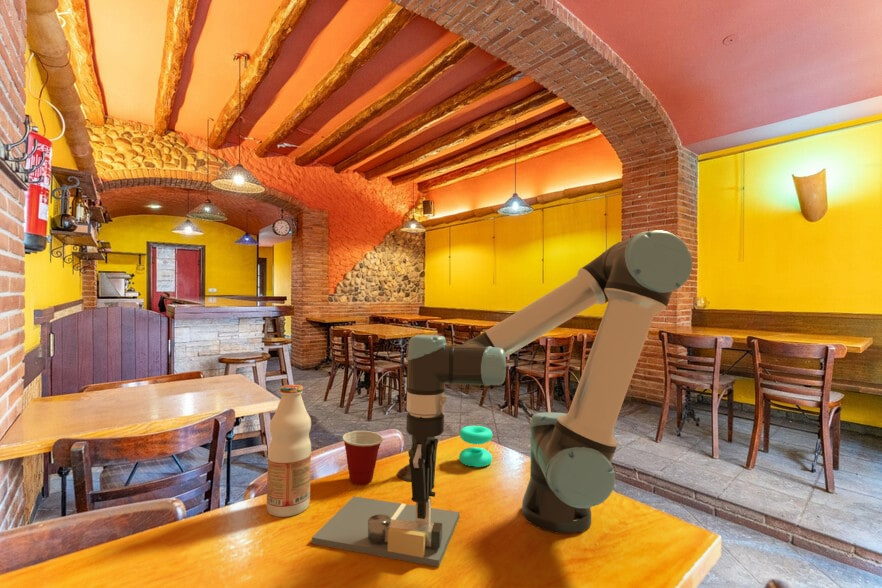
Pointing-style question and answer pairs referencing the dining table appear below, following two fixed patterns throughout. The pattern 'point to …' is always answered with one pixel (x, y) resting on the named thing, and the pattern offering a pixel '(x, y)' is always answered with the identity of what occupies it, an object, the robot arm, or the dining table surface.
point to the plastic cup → (361, 455)
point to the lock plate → (402, 544)
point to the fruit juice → (289, 455)
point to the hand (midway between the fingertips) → (422, 531)
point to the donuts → (475, 454)
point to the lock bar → (382, 523)
